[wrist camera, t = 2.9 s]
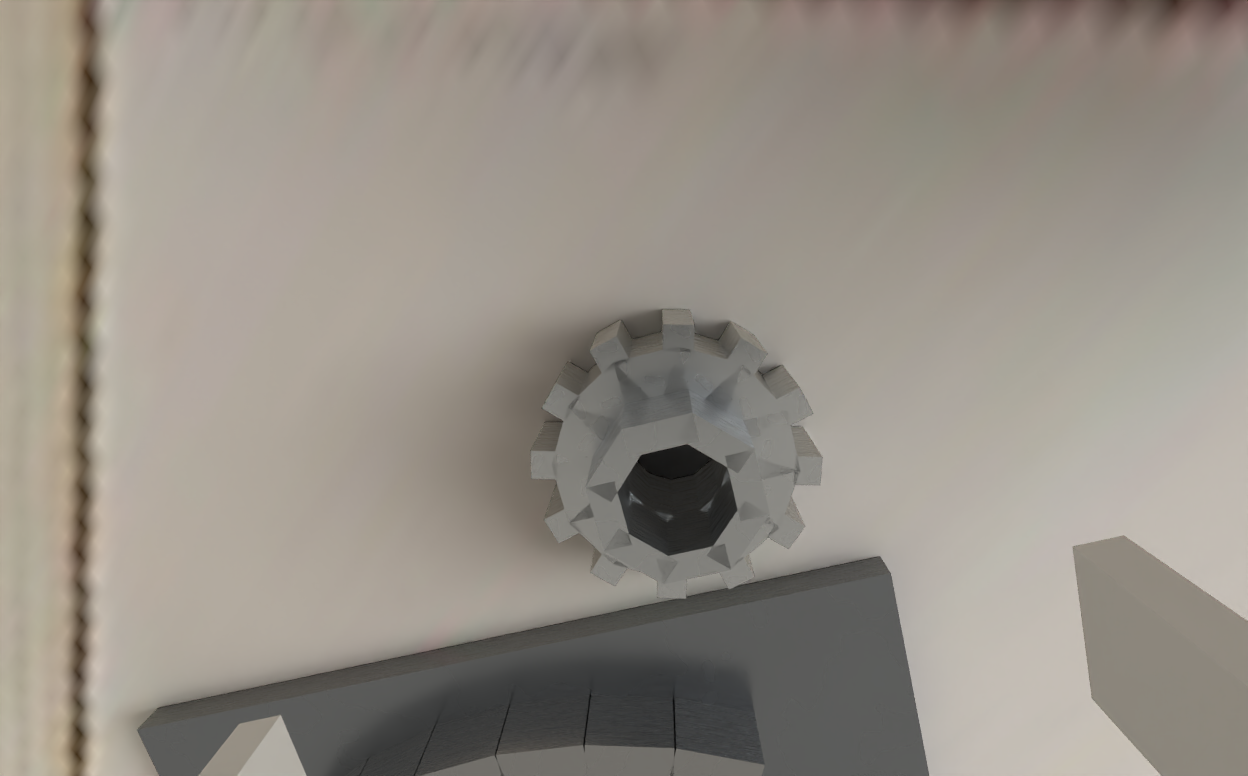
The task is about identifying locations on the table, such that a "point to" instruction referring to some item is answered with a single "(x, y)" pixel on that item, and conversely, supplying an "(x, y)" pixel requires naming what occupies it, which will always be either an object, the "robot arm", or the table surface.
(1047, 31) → the table surface
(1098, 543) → the robot arm
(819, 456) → the gear
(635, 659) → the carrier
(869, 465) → the table surface
